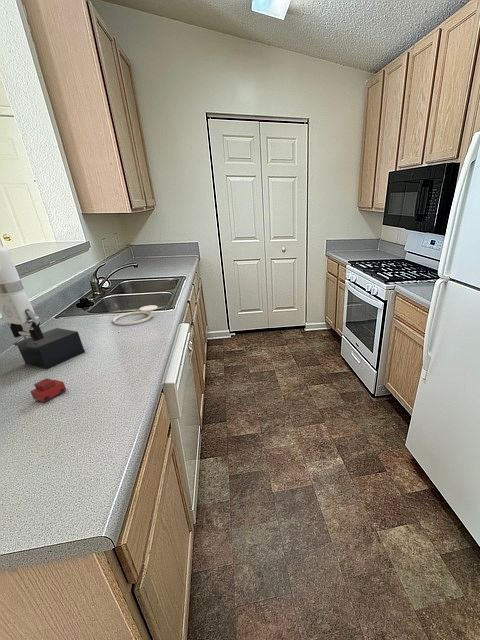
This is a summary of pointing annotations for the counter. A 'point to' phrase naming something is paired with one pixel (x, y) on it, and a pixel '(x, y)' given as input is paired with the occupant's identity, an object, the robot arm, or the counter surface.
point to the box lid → (48, 338)
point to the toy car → (47, 389)
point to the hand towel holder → (145, 308)
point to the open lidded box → (53, 352)
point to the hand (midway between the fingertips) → (29, 337)
